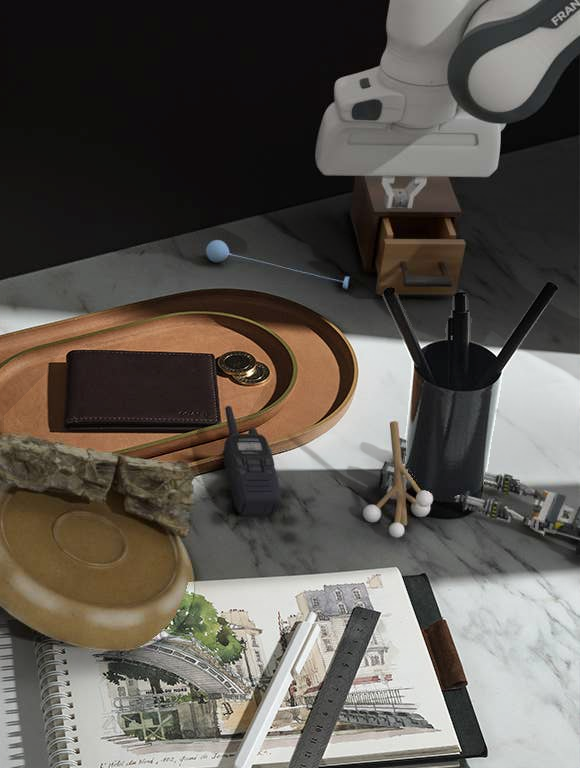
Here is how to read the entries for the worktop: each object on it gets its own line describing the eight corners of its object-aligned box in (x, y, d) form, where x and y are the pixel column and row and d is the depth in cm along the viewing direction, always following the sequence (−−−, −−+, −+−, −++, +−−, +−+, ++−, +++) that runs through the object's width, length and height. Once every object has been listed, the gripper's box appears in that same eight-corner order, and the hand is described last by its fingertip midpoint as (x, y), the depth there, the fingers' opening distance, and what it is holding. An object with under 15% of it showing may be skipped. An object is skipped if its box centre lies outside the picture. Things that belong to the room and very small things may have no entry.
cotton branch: (435, 421, 132) (445, 533, 134) (414, 412, 138) (424, 519, 140) (366, 432, 131) (377, 544, 133) (348, 422, 137) (359, 529, 140)
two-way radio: (237, 499, 135) (215, 398, 145) (229, 525, 138) (209, 425, 148) (287, 499, 135) (262, 398, 145) (279, 525, 139) (255, 425, 149)
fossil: (177, 450, 136) (215, 476, 127) (158, 515, 138) (194, 545, 129) (-14, 407, 128) (12, 432, 119) (-33, 477, 129) (-9, 507, 120)
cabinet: (449, 273, 174) (461, 212, 168) (364, 272, 174) (374, 211, 168) (429, 214, 186) (440, 155, 180) (349, 214, 186) (358, 154, 180)
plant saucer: (-11, 622, 113) (-20, 646, 115) (233, 636, 122) (220, 658, 123) (-42, 441, 130) (-49, 465, 132) (173, 465, 139) (163, 487, 141)
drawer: (462, 316, 165) (473, 264, 160) (382, 315, 165) (391, 264, 160) (435, 236, 180) (444, 187, 175) (361, 236, 180) (369, 187, 175)
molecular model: (344, 298, 172) (345, 285, 169) (203, 264, 176) (202, 250, 174) (350, 280, 173) (351, 267, 170) (210, 246, 178) (209, 233, 175)
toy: (401, 423, 142) (684, 499, 130) (396, 470, 146) (669, 547, 135) (376, 466, 137) (668, 548, 125) (372, 513, 141) (654, 597, 129)
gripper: (506, 82, 140) (481, 193, 150) (321, 80, 140) (308, 191, 149) (519, 108, 136) (493, 221, 145) (328, 105, 136) (313, 219, 145)
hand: (397, 206), depth 147 cm, fingers closed
